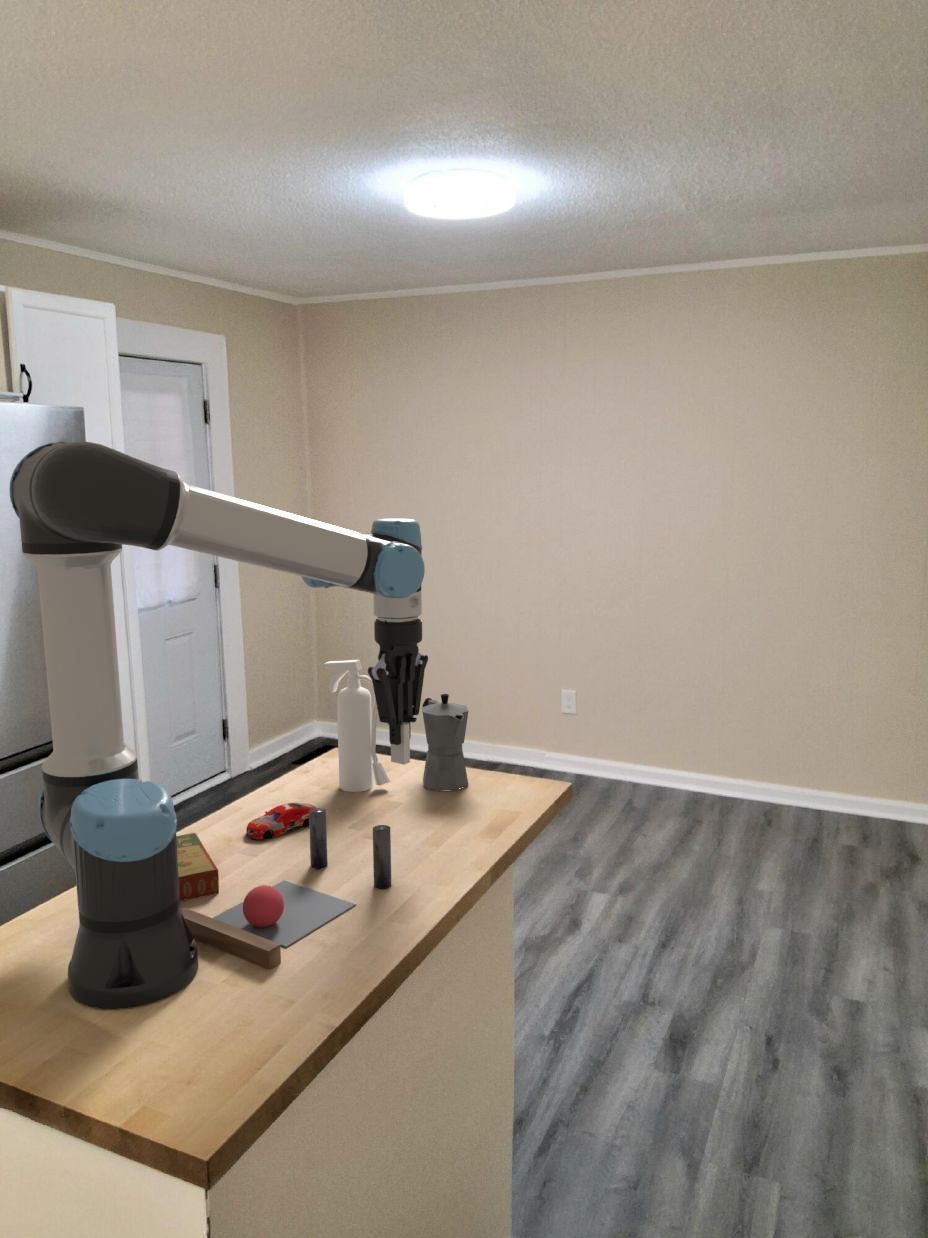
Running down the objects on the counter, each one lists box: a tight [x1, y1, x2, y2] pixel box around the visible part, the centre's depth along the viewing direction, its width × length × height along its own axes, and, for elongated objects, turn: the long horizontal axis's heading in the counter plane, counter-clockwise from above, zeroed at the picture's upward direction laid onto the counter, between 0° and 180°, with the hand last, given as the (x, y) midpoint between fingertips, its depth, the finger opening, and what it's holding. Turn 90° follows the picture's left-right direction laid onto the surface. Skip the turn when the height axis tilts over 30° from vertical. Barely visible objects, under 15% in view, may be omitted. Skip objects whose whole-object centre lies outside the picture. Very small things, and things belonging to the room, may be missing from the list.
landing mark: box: [212, 879, 357, 949], centre depth 132 cm, size 14×14×1 cm
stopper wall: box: [181, 907, 282, 970], centre depth 123 cm, size 2×18×2 cm, turn 56°
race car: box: [245, 802, 317, 841], centre depth 161 cm, size 13×5×4 cm, turn 131°
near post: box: [372, 824, 392, 891], centre depth 139 cm, size 3×3×9 cm
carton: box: [176, 832, 220, 902], centre depth 143 cm, size 8×16×4 cm, turn 27°
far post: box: [308, 807, 329, 870], centre depth 146 cm, size 3×3×9 cm
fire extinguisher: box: [323, 659, 391, 793], centre depth 180 cm, size 7×12×25 cm, turn 69°
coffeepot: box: [421, 693, 469, 792], centre depth 183 cm, size 15×9×18 cm, turn 29°
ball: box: [242, 884, 284, 928], centre depth 128 cm, size 6×6×6 cm
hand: (400, 761), depth 152 cm, fingers closed
